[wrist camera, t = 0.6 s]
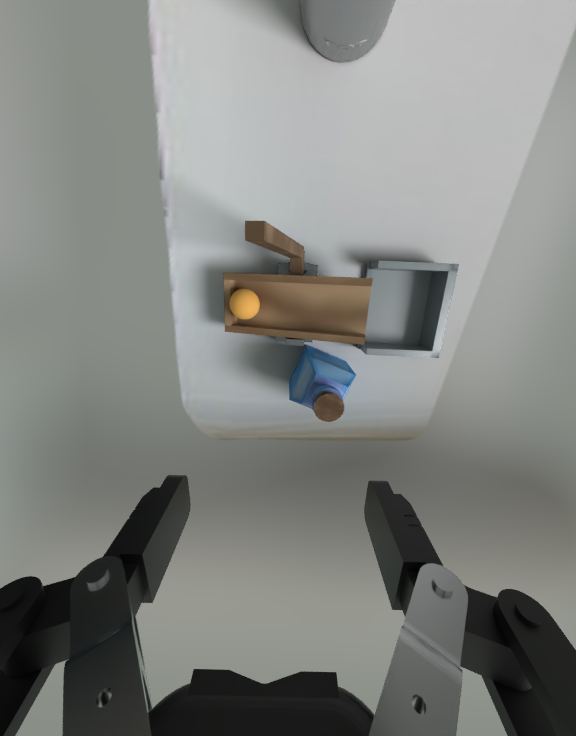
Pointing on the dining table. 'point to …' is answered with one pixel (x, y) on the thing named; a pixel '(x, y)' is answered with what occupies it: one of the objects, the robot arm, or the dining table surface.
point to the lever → (298, 297)
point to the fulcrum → (308, 271)
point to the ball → (244, 304)
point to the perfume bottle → (321, 383)
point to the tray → (408, 307)
